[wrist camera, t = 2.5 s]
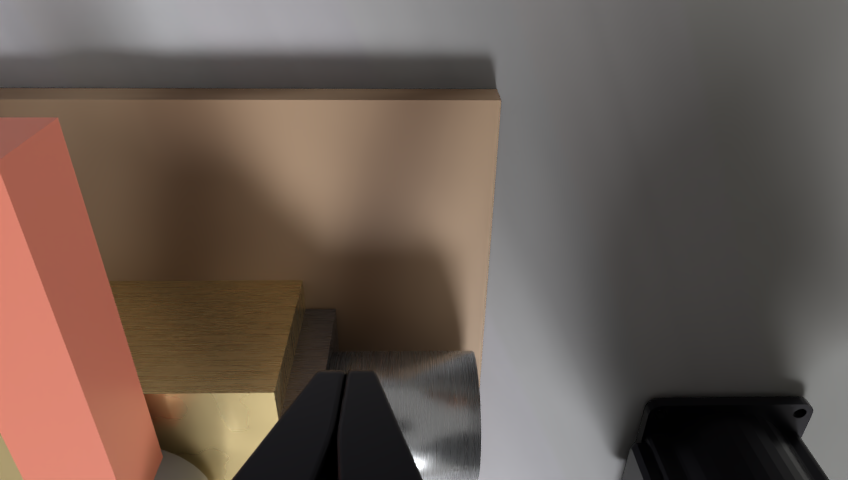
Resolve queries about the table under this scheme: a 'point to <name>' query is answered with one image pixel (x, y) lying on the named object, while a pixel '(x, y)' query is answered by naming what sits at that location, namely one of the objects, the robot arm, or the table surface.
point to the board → (296, 196)
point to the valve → (275, 374)
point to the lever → (64, 329)
